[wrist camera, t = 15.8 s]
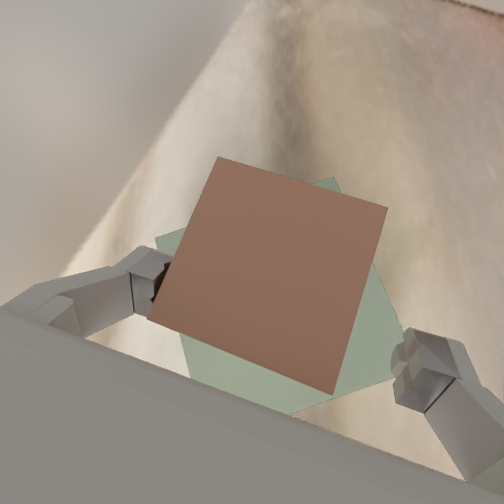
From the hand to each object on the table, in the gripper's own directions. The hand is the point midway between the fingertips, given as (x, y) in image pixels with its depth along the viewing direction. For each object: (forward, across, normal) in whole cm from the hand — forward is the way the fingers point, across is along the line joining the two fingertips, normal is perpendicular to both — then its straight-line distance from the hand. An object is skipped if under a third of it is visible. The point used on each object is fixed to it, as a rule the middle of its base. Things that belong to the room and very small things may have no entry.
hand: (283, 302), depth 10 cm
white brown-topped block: (+5, +1, +4) cm, 7 cm away
